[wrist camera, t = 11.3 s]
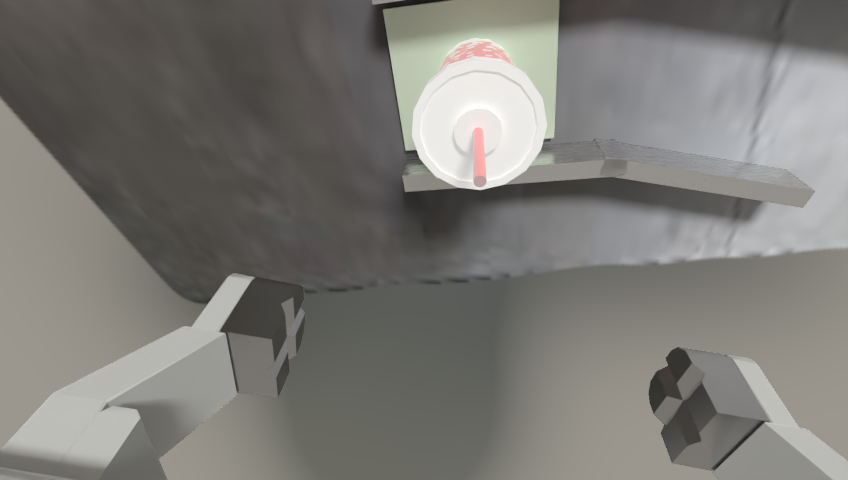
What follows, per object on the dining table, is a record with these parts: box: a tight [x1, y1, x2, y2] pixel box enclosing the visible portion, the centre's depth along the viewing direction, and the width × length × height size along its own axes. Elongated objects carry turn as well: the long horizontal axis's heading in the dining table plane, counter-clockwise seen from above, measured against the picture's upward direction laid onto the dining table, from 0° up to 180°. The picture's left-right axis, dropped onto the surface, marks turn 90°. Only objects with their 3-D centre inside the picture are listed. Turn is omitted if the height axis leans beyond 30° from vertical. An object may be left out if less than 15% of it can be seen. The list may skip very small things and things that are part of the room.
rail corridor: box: [372, 0, 815, 208], centre depth 26 cm, size 28×16×3 cm, turn 82°
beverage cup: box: [412, 38, 547, 190], centre depth 22 cm, size 6×6×14 cm
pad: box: [383, 0, 559, 151], centre depth 27 cm, size 10×9×1 cm
